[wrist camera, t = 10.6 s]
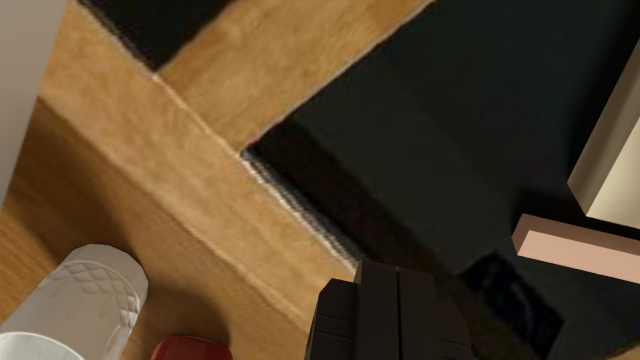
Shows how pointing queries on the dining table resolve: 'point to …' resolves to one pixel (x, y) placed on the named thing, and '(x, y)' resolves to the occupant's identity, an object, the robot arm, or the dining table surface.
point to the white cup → (78, 309)
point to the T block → (613, 155)
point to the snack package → (190, 349)
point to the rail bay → (577, 247)
